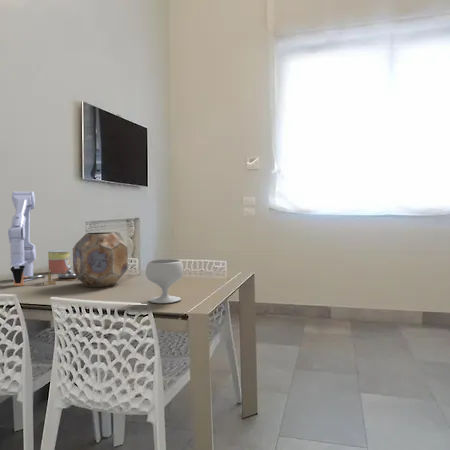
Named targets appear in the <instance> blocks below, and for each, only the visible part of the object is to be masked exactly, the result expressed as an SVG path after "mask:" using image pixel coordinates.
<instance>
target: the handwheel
mask: <svg viewBox="0 0 450 450" xmlns="http://www.w3.org/2000/svg"><path fill="white" fill-rule="evenodd" d="M57 278H62V279H67V278H76V275H75V273H74V272H73V266H72V267H71V266H70V268H69V270H67V273H60V274H57Z"/></svg>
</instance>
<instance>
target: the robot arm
mask: <svg viewBox="0 0 450 450" xmlns="http://www.w3.org/2000/svg"><path fill="white" fill-rule="evenodd" d="M11 193H12V194H11V200H12V203H13V206H14V209H15V214H14V215H13V216H12V219H11V224H10V227H9V228H8V231H7V234H8V242H9V244H10V248H9V249H10V266H12V267H10V271H11V273H12V275H11V276H12V278H10V280H12V281H14V280H15V283H21V278H22V272H24V277H26V276H34V261H36V259H37V251H36V249H37V248H36V245H35V244H34V243H32V242H30V241H31V240H30V239H31V238H30V237H31V234H30V233H31V213H32V210H33V209H35V206H36V194H35V192H34V191H15V190H14V191H12V192H11ZM31 280H33V279H27V280H24V282H26V281H31Z"/></svg>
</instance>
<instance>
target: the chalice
mask: <svg viewBox="0 0 450 450" xmlns="http://www.w3.org/2000/svg"><path fill="white" fill-rule="evenodd" d="M183 275H184V267H183V263H182V262H181V260H180V259H172V258H171V259H170V258H169V259H167V258H164V259H163V258H162V259H152V260H149V261H148V263H147V264H146V268H145V276H146V278H147V280H148V281H150V282H151V283H153V284H155V285H157V286H159V288H161V291H162V294H161V295H158V296H154V297H150V298H149V299H148V301H149V302H150V303H153V304H172V303H177V302H180V301H181V300H182V298H181V297H179V296H175V295H170V294H168V293H169V292H168V290H169V288H170V287H171V286H172V285H174V284H175V283H176V282H178V281H179V280H181V279H182V278H183Z"/></svg>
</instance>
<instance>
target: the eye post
mask: <svg viewBox="0 0 450 450" xmlns="http://www.w3.org/2000/svg"><path fill="white" fill-rule="evenodd" d="M43 285H44V286H51V285H52V286H53V285H56V280H52V274H51V269H49V268H48V269H47V281H46V280H45V281H43Z"/></svg>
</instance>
